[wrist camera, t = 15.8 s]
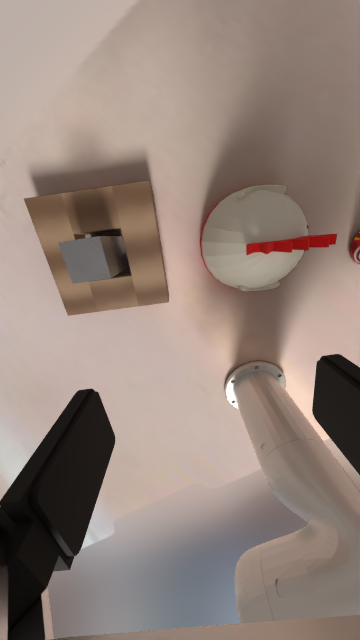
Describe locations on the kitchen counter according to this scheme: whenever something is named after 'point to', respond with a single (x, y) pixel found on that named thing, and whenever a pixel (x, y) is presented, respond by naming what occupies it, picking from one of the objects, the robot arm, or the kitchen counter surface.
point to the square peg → (94, 258)
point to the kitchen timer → (256, 238)
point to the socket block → (100, 216)
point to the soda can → (355, 250)
